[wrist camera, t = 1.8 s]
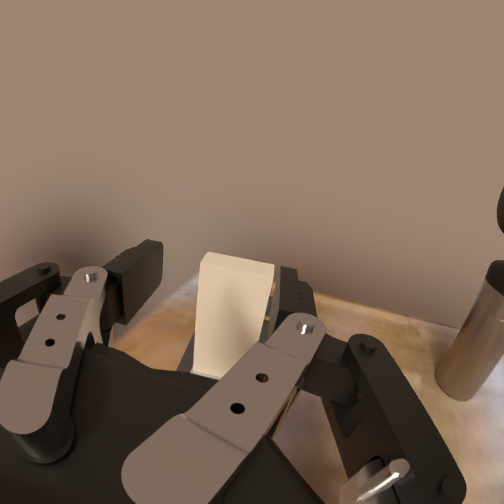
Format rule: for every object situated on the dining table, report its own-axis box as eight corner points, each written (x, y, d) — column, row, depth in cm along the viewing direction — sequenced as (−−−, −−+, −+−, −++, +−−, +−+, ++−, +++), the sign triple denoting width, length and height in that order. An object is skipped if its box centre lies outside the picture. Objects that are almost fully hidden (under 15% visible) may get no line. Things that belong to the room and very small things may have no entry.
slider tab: (248, 393, 26) (275, 281, 21) (189, 379, 27) (195, 265, 22) (252, 367, 30) (276, 261, 25) (198, 356, 30) (208, 248, 25)
